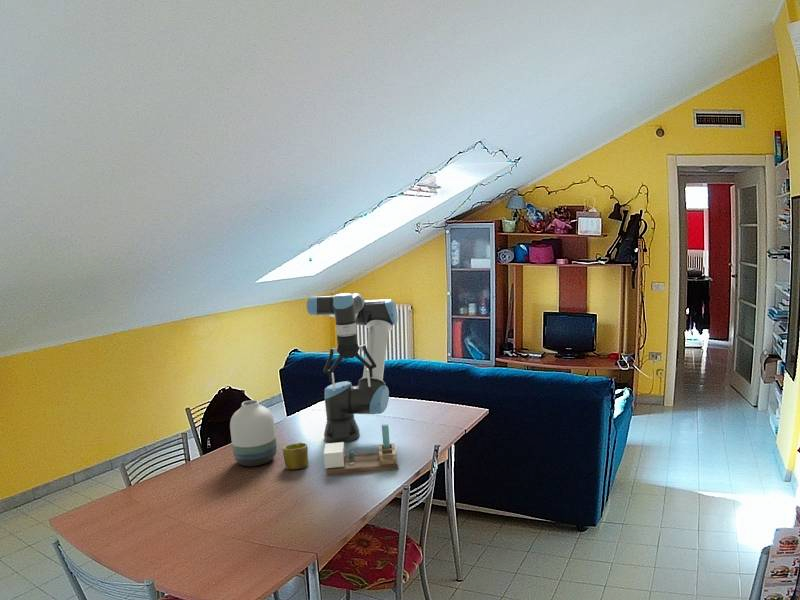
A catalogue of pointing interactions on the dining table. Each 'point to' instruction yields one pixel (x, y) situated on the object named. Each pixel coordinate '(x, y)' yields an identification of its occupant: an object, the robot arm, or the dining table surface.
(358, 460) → the board
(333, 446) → the cover
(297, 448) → the mug
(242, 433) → the vase
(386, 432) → the peg
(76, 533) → the dining table surface
